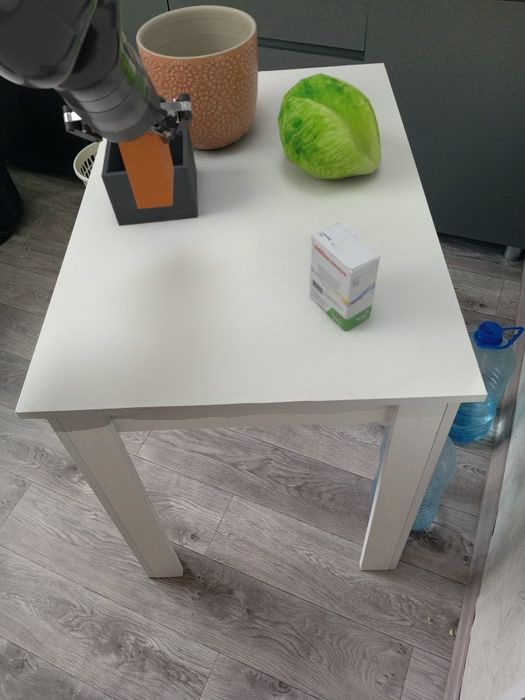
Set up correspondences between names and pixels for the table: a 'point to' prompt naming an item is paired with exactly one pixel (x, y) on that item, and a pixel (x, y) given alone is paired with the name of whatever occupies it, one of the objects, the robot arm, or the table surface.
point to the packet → (149, 171)
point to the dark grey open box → (182, 185)
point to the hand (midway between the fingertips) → (146, 137)
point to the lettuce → (329, 128)
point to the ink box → (343, 275)
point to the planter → (205, 68)
